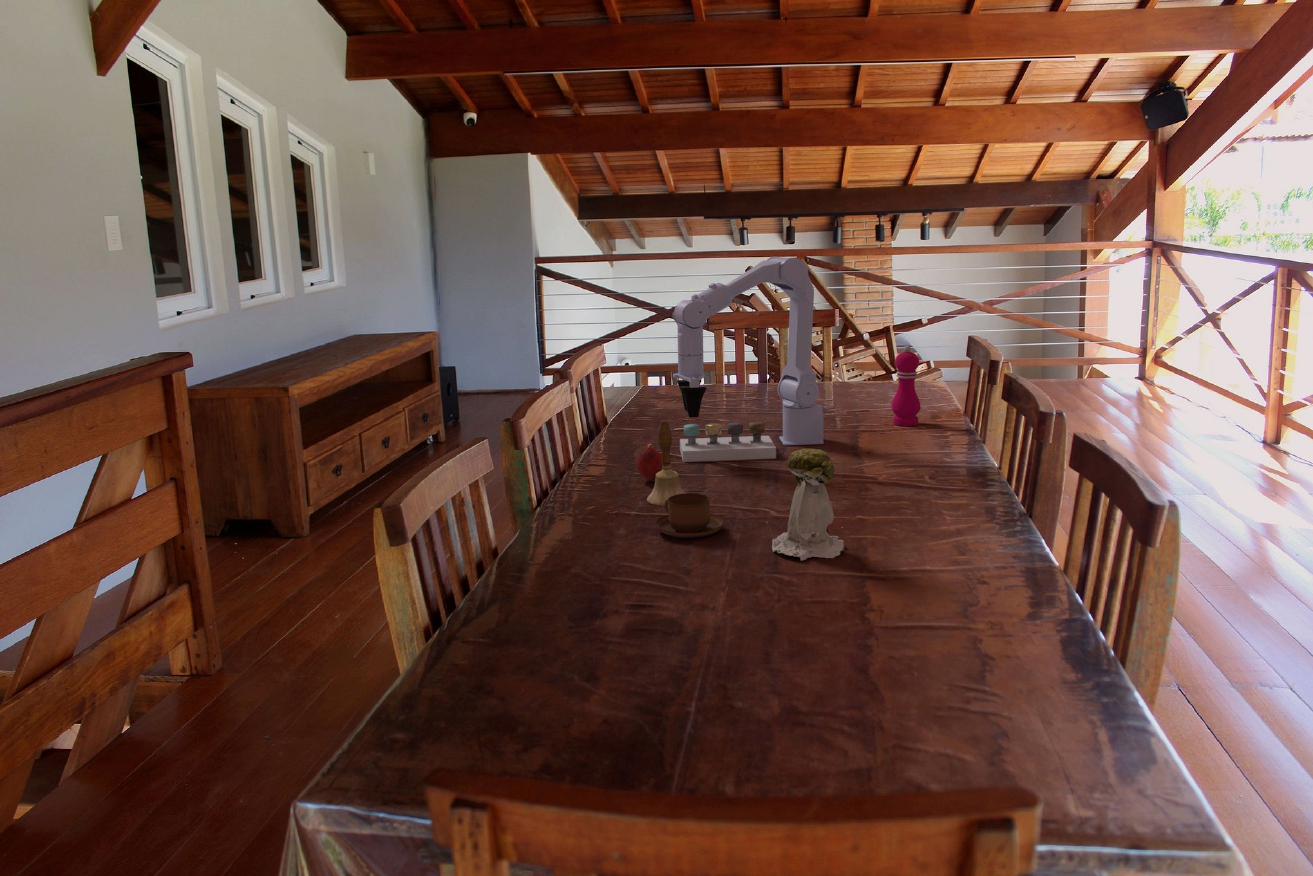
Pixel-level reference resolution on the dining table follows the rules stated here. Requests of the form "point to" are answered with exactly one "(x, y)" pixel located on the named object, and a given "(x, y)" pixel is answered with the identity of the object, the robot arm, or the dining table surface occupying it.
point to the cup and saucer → (688, 517)
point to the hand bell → (665, 471)
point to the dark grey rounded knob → (735, 431)
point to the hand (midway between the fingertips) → (691, 413)
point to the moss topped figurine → (809, 508)
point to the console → (727, 449)
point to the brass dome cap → (713, 432)
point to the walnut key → (756, 430)
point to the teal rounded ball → (691, 433)
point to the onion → (649, 463)
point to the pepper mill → (906, 389)
